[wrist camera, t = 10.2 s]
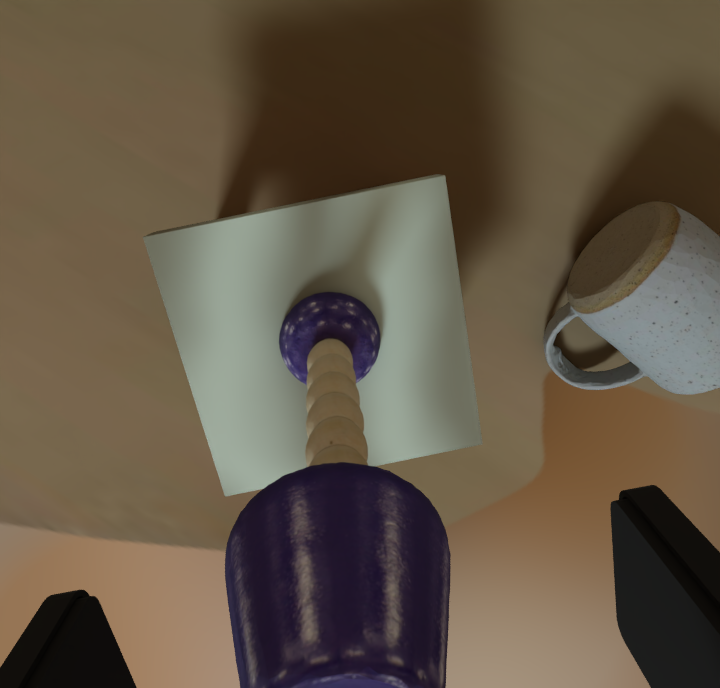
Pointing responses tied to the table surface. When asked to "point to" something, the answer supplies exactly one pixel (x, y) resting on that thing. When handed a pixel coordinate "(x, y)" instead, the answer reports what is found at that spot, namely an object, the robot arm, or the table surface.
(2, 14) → the table surface
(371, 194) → the footstool
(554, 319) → the ceramic mug
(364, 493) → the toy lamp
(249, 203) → the table surface
